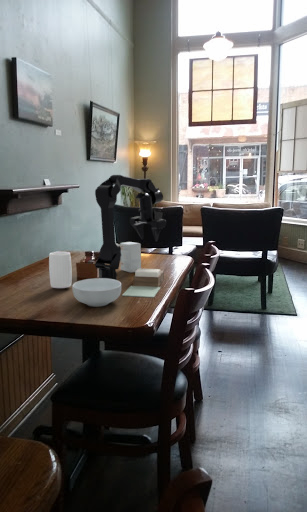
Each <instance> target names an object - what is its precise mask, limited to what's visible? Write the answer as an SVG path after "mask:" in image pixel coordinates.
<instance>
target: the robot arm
mask: <svg viewBox="0 0 307 512" xmlns="http://www.w3.org/2000/svg"><path fill="white" fill-rule="evenodd" d="M122 187H126V188H127V187H128V188H132V189H133V190H134V191H136V192H138V193H137V195H136V196H135V199H137V200H138V203H139V204H138V205H139V209H138V211H137V212H138V213H140V215H136V216H134V217H133V216H132V217H130V219H129V225H131V227H133V228H134V230H135V231H136V233H137V234H138V236H139V238H140V239H141V240H143V239H144V225H145V224H147V225H151V232H152V235H153V238H154V241H155V242H158V240H159V237H160V233H161V230H162V229H163V228H165V226H167V220H166V219H164V218H163V212H161V211H157V210H156V209H155V207H153V205H155V204H159V203H160V202H162V201H163V199H164V195H163V192H162V191H160V188H159V187H156V186H155V185H154V183H153V182H152V179H151V178H133V177H129V176H124V175H121V174H112V175H111V176H110V177H109V178H107V179H106V180H105V181H103V182H101V183H100V184H99V185H98V186H97V187H96V189H95V191H94V195H95V200H96V203H97V205H98V206H99V208H100V212H101V213H100V216H101V231H102V232H101V233H102V234H101V235H102V245H101V247H100V249H99V256H98V258H97V259H96V261H95V263H94V266H95V267H94V268H95V269H98V278H108V279H114V280H118V272H117V271H116V270H119V268H120V265H121V256H122V255H121V247H120V245H117V243H116V233H115V215H114V208H115V206H116V203H117V201H118V200H117V198H118V195H119V193H120V192H121V190H122Z"/></svg>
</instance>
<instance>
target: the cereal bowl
mask: <svg viewBox="0 0 307 512" xmlns="http://www.w3.org/2000/svg"><path fill="white" fill-rule="evenodd" d="M71 287H72V288H71V290H72V294H73V297H74V298H75V299H76V300H77V301H78V302H80V303H83V304H84V305H85V304H86V305H87V306H88V307H93V308H94V307H104V306H105V307H106V306H107V305H109V304H110V303H113V302H115V301H116V300H117V299H118V298H119V297H120V296H121V294H122V282H121V281H120V280H118V279H117V280H114V279H108V278H99V277H95V278H86V279H82V280H78V281H76V282H73V284H71Z"/></svg>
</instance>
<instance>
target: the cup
mask: <svg viewBox="0 0 307 512" xmlns="http://www.w3.org/2000/svg"><path fill="white" fill-rule="evenodd" d="M48 257H49V258H48V268H49V270H48V271H49V272H48V273H49V282H50V287H51V288H53V289H65V288H69V287H72V280H73V279H72V278H73V277H72V276H73V275H72V274H73V273H72V271H73V270H72V257H71V252H69V251H62V250H61V251H60V250H59V251H52V252H49V254H48Z"/></svg>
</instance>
